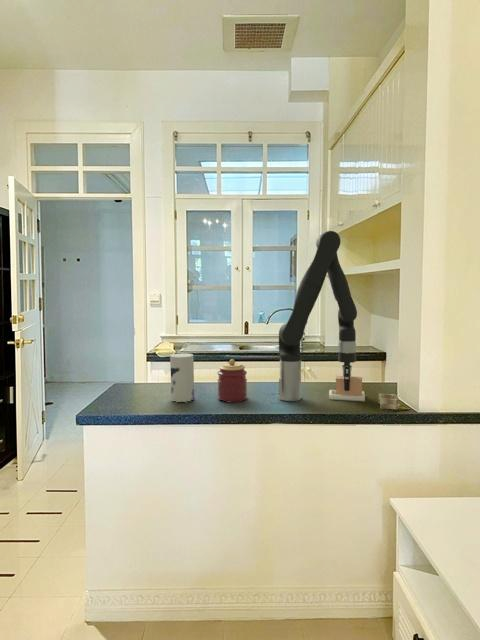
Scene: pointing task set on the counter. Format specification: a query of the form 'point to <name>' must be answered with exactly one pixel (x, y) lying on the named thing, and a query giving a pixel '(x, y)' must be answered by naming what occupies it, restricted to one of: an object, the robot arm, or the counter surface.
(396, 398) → the dock
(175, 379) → the container
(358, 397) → the tray
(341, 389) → the block
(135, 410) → the counter surface
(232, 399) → the canister
